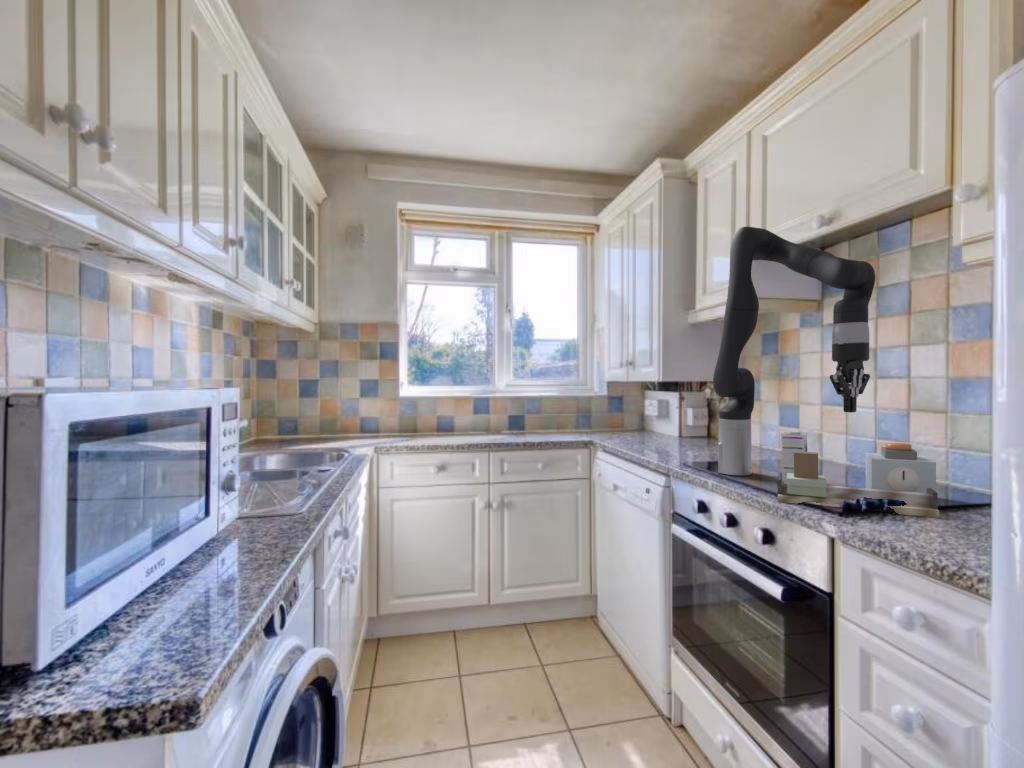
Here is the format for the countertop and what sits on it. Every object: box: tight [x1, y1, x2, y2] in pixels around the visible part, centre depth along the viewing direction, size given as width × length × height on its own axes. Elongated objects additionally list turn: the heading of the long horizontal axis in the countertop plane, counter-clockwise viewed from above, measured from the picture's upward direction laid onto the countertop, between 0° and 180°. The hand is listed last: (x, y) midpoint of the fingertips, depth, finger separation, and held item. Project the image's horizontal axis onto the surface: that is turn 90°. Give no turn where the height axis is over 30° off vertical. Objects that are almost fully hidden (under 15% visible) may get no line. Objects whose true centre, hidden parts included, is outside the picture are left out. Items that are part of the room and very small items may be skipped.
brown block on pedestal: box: [787, 451, 827, 497], centre depth 116 cm, size 8×7×10 cm
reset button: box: [885, 442, 913, 451], centre depth 117 cm, size 5×5×3 cm
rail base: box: [777, 475, 941, 519], centre depth 111 cm, size 30×8×5 cm, turn 60°
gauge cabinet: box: [864, 446, 937, 493], centre depth 117 cm, size 12×11×12 cm
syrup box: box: [780, 431, 808, 482], centre depth 132 cm, size 6×6×14 cm
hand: (849, 412), depth 117 cm, fingers closed
